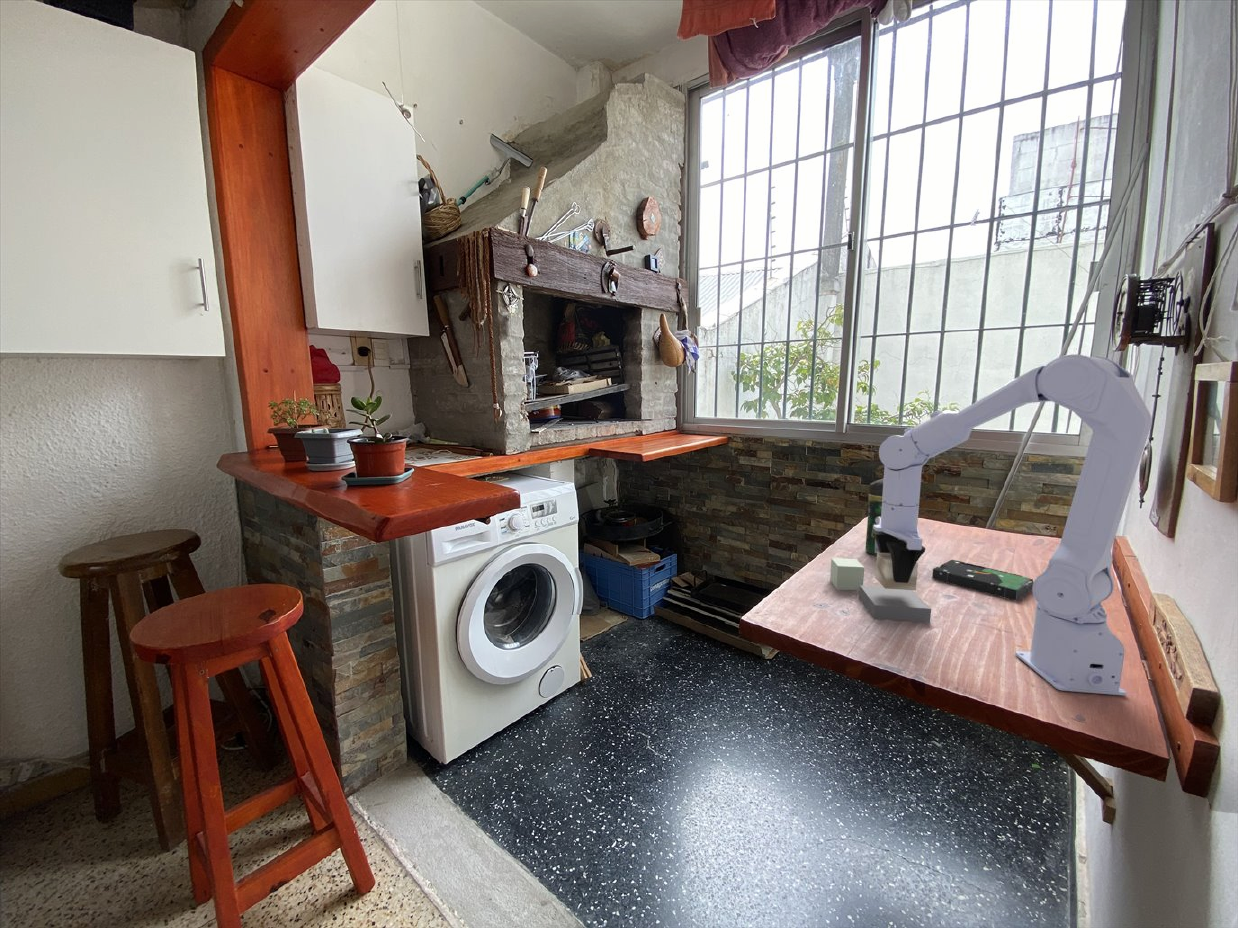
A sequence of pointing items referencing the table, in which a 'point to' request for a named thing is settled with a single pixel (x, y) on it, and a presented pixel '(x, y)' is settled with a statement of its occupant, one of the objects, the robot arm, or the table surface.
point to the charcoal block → (894, 604)
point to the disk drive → (983, 579)
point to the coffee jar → (874, 514)
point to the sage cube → (846, 573)
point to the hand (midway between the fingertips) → (894, 576)
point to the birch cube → (886, 574)
